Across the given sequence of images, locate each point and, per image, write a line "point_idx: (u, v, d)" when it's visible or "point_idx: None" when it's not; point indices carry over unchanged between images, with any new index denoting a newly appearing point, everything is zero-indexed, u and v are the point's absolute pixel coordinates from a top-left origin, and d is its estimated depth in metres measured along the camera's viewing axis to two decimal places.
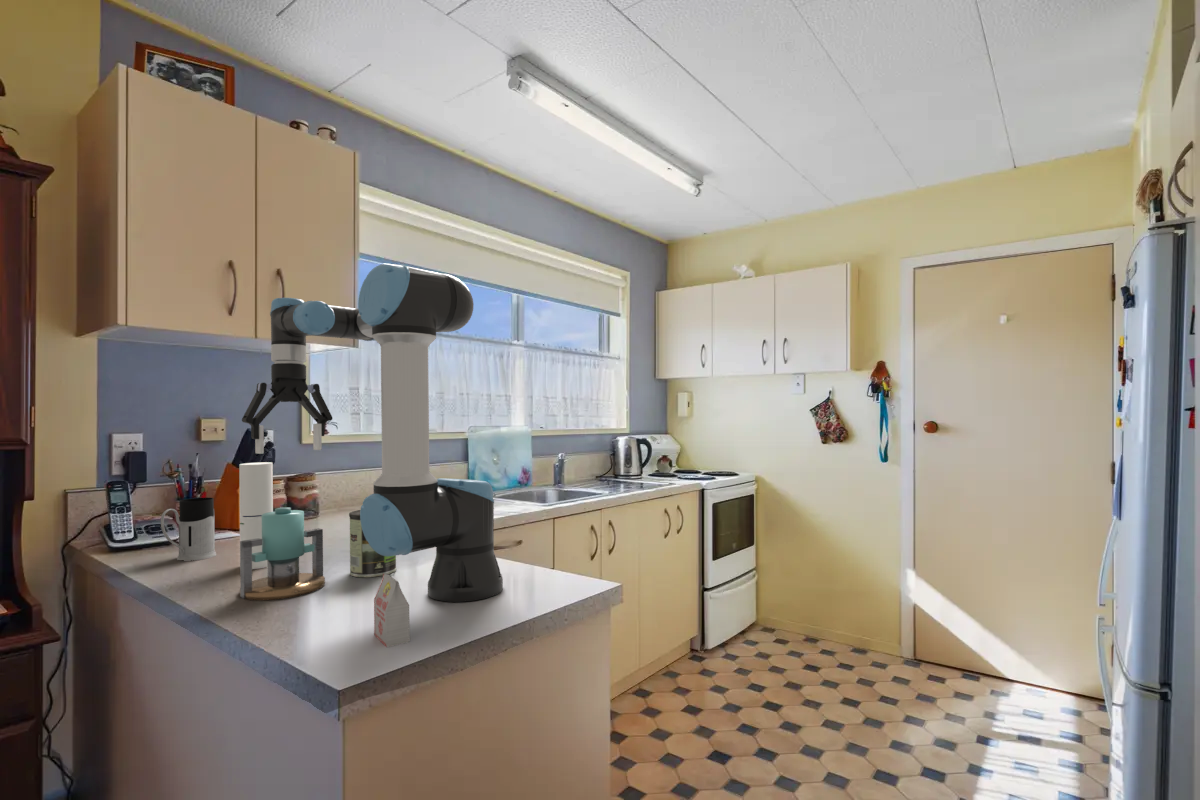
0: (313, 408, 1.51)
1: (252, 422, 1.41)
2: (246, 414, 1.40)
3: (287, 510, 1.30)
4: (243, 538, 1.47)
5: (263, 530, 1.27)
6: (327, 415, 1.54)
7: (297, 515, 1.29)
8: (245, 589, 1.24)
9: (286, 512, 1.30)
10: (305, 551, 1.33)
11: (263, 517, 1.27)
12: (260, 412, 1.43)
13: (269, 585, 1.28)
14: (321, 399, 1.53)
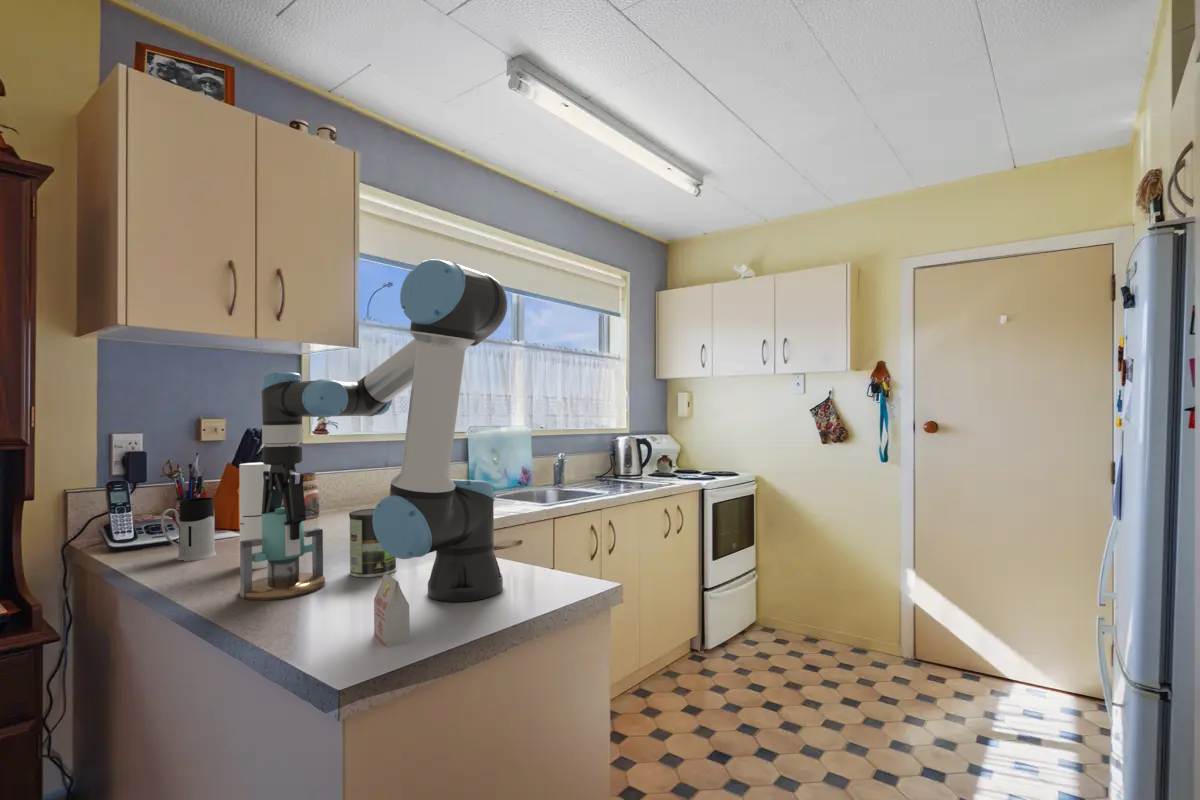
0: (285, 503, 1.27)
1: None
2: None
3: None
4: (243, 538, 1.47)
5: (263, 530, 1.27)
6: (291, 515, 1.25)
7: None
8: (245, 589, 1.24)
9: None
10: (305, 551, 1.33)
11: (263, 517, 1.27)
12: None
13: (269, 585, 1.28)
14: (290, 494, 1.26)
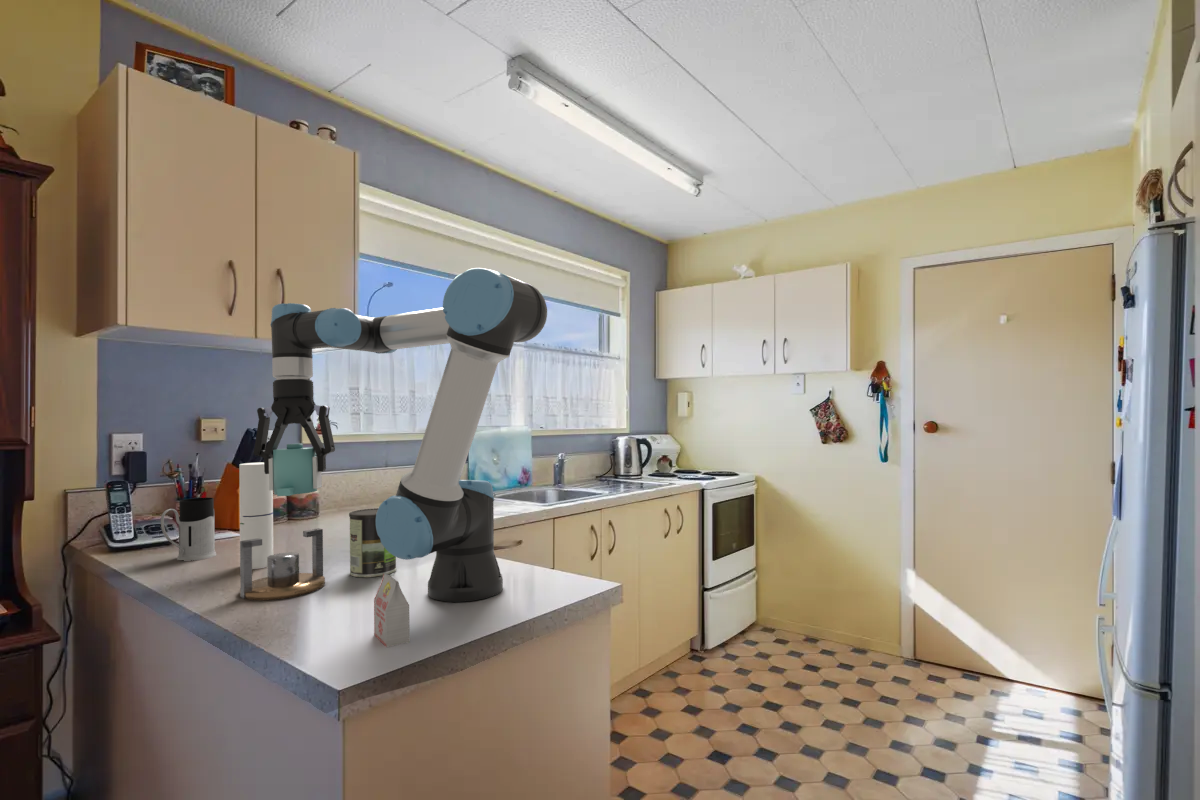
0: (311, 435, 1.27)
1: (262, 456, 1.26)
2: None
3: (302, 445, 1.28)
4: (243, 538, 1.47)
5: (287, 464, 1.23)
6: (325, 445, 1.27)
7: None
8: (245, 589, 1.24)
9: (302, 447, 1.28)
10: None
11: (287, 451, 1.23)
12: None
13: (269, 585, 1.28)
14: (323, 425, 1.27)
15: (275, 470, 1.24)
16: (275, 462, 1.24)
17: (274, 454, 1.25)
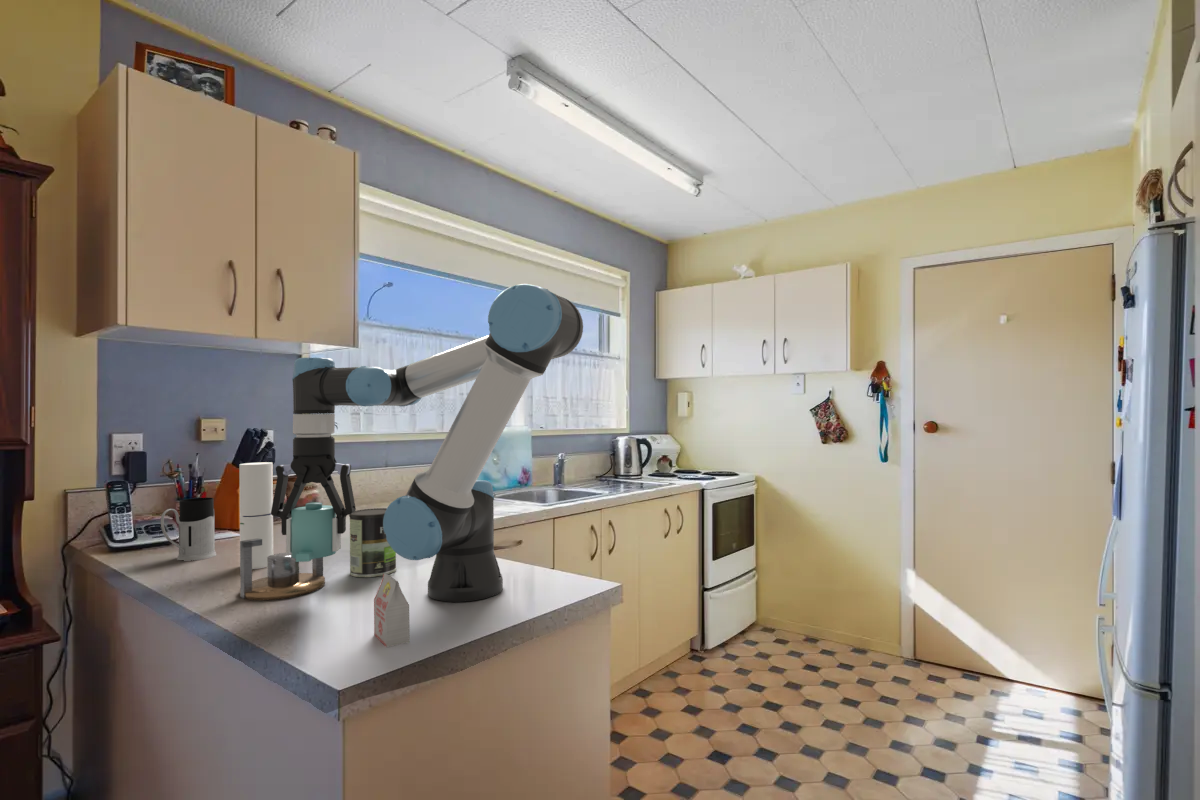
0: (332, 496, 1.21)
1: (280, 516, 1.20)
2: None
3: None
4: (243, 538, 1.47)
5: (306, 527, 1.18)
6: (346, 507, 1.21)
7: None
8: (245, 589, 1.24)
9: (321, 506, 1.22)
10: None
11: (306, 513, 1.18)
12: None
13: (269, 585, 1.28)
14: (345, 485, 1.21)
15: (293, 532, 1.18)
16: (293, 524, 1.19)
17: (292, 516, 1.19)
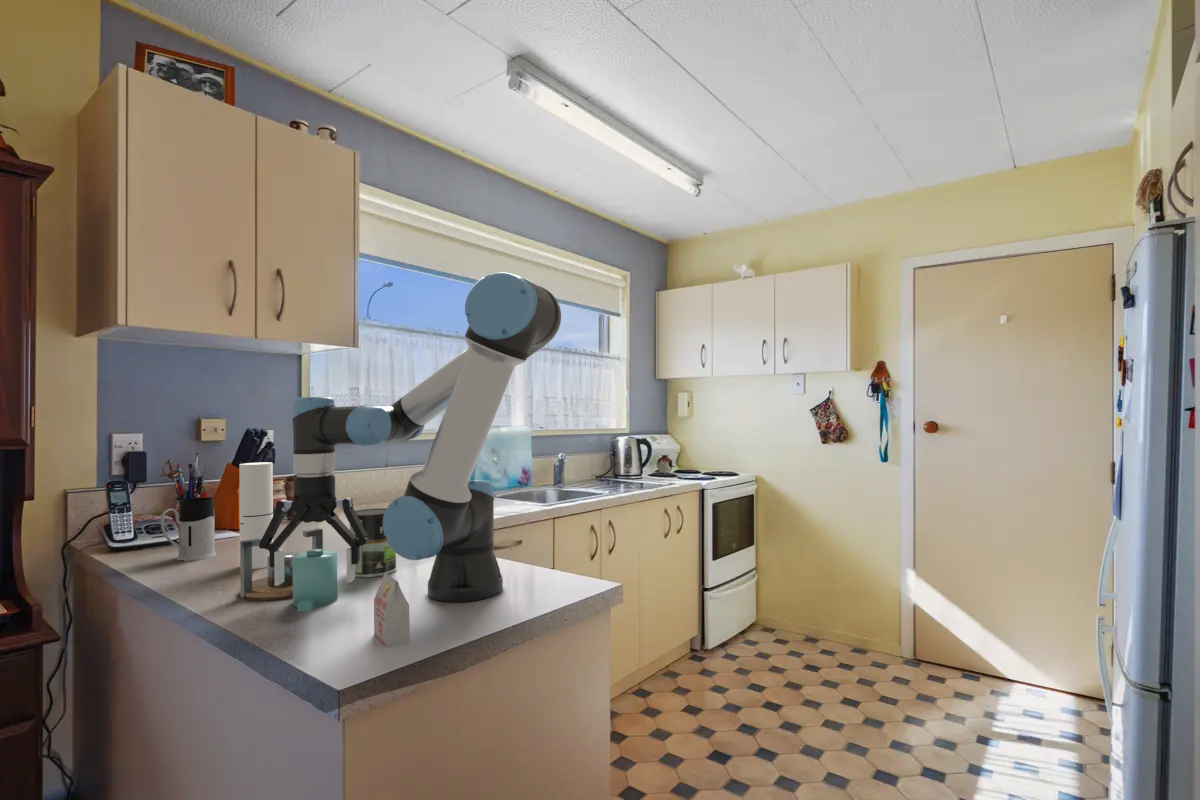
0: (340, 530, 1.21)
1: (268, 547, 1.20)
2: None
3: (323, 551, 1.22)
4: (243, 538, 1.47)
5: (307, 576, 1.18)
6: (359, 538, 1.21)
7: None
8: (245, 589, 1.24)
9: (322, 553, 1.22)
10: None
11: (307, 562, 1.18)
12: None
13: (269, 585, 1.28)
14: (351, 518, 1.21)
15: (295, 580, 1.18)
16: (294, 573, 1.18)
17: (293, 564, 1.19)
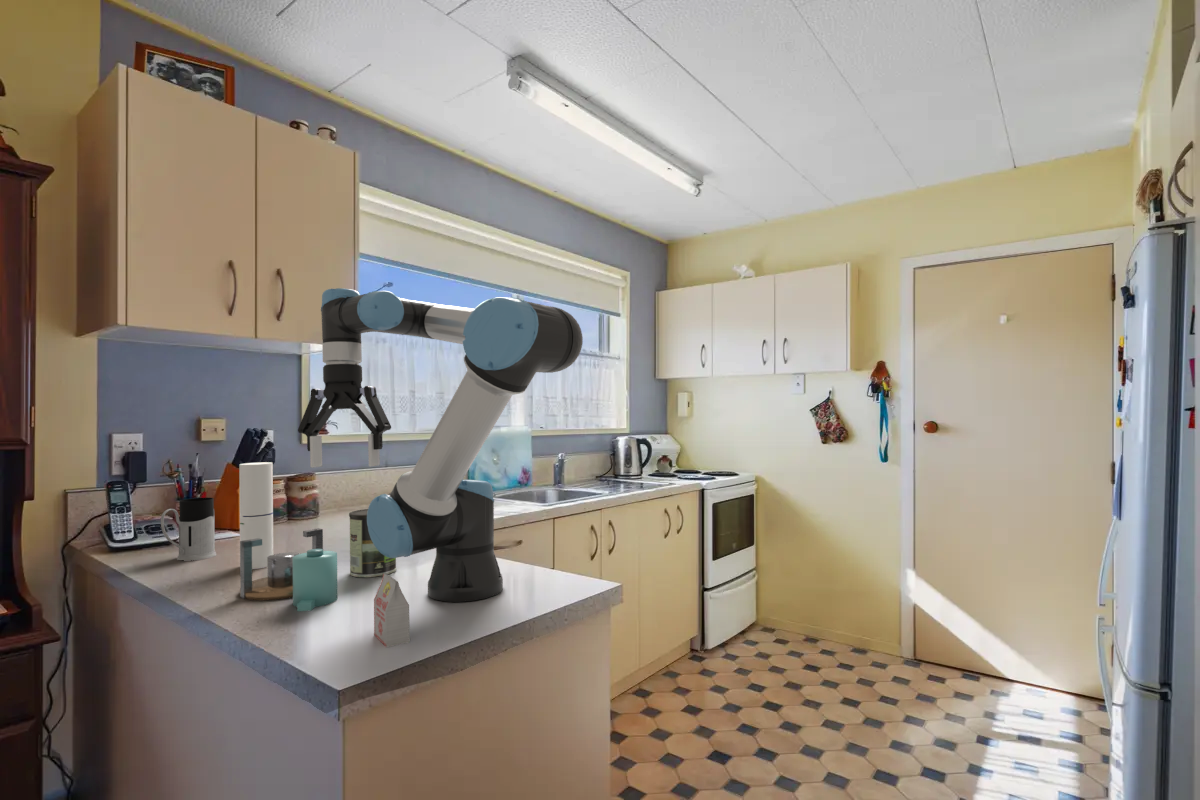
0: (363, 416, 1.25)
1: (306, 432, 1.29)
2: None
3: (323, 551, 1.22)
4: (243, 538, 1.47)
5: (307, 576, 1.18)
6: (378, 424, 1.24)
7: None
8: (245, 589, 1.24)
9: (323, 553, 1.22)
10: None
11: (307, 562, 1.18)
12: None
13: (269, 585, 1.28)
14: (371, 404, 1.25)
15: (295, 580, 1.18)
16: (294, 573, 1.18)
17: (293, 564, 1.19)
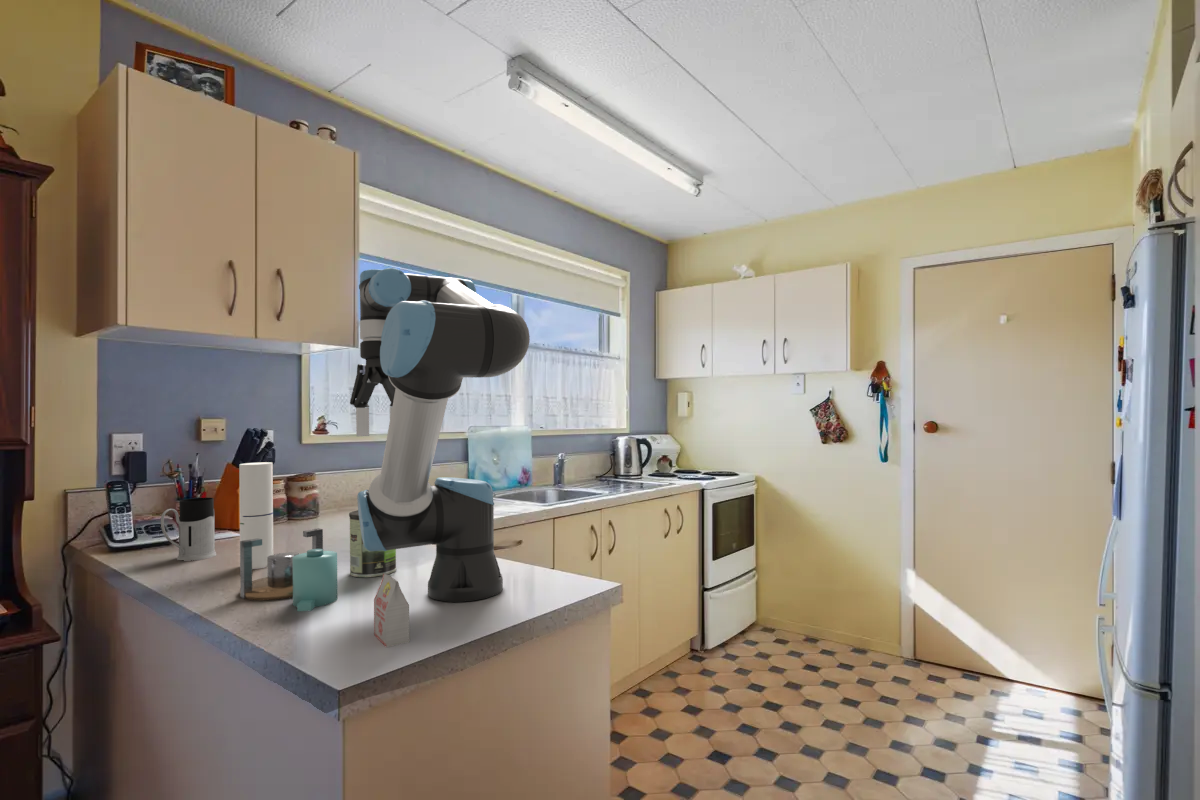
0: (387, 389, 1.32)
1: None
2: None
3: (323, 551, 1.22)
4: (243, 538, 1.47)
5: (307, 576, 1.18)
6: None
7: None
8: (245, 589, 1.24)
9: (323, 553, 1.22)
10: None
11: (307, 562, 1.18)
12: None
13: (269, 585, 1.28)
14: None
15: (295, 580, 1.18)
16: (294, 573, 1.18)
17: (293, 564, 1.19)
